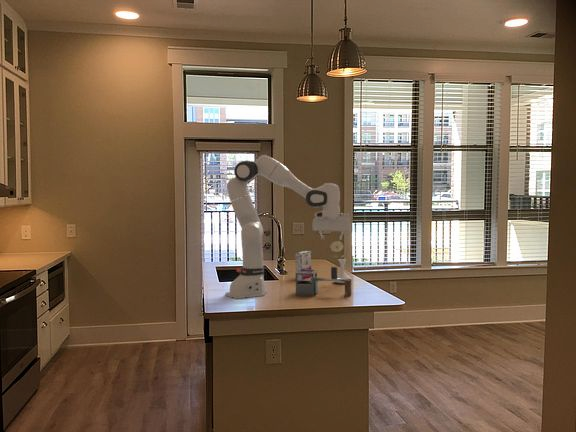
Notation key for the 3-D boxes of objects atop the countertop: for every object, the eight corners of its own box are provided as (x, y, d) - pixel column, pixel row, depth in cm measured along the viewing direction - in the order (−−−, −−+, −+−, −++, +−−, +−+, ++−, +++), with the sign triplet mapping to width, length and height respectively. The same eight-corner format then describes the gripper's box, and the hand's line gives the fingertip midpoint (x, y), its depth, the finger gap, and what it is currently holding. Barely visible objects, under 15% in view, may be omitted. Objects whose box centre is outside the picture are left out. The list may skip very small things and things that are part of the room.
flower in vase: (353, 281, 302) (353, 240, 301) (350, 285, 291) (350, 242, 290) (332, 280, 306) (331, 239, 304) (328, 284, 295) (328, 241, 293)
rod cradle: (351, 294, 267) (351, 278, 266) (350, 296, 262) (350, 280, 261) (345, 293, 267) (345, 278, 267) (344, 295, 262) (344, 280, 262)
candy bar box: (305, 275, 323) (305, 250, 322) (311, 276, 320) (311, 251, 319) (295, 278, 314) (294, 252, 313) (301, 279, 311) (301, 253, 310)
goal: (317, 291, 274) (317, 269, 273) (313, 296, 262) (313, 273, 262) (300, 291, 276) (299, 269, 275) (295, 295, 264) (295, 273, 264)
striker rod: (348, 292, 267) (348, 266, 267) (347, 294, 262) (347, 268, 261) (312, 291, 272) (312, 265, 271) (310, 293, 266) (310, 267, 265)
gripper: (351, 213, 266) (351, 239, 267) (313, 213, 271) (313, 238, 271) (350, 214, 260) (350, 240, 261) (311, 213, 264) (311, 239, 265)
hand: (331, 239), depth 266 cm, fingers open, 8 cm apart
